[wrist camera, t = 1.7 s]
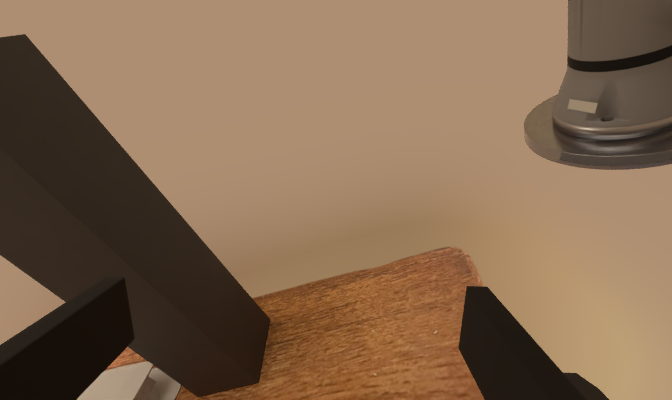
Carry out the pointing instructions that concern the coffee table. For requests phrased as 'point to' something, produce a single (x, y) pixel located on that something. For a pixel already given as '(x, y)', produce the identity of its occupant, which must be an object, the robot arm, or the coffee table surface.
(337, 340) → the coffee table surface
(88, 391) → the beige covered tray
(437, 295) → the coffee table surface
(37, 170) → the pedestal
